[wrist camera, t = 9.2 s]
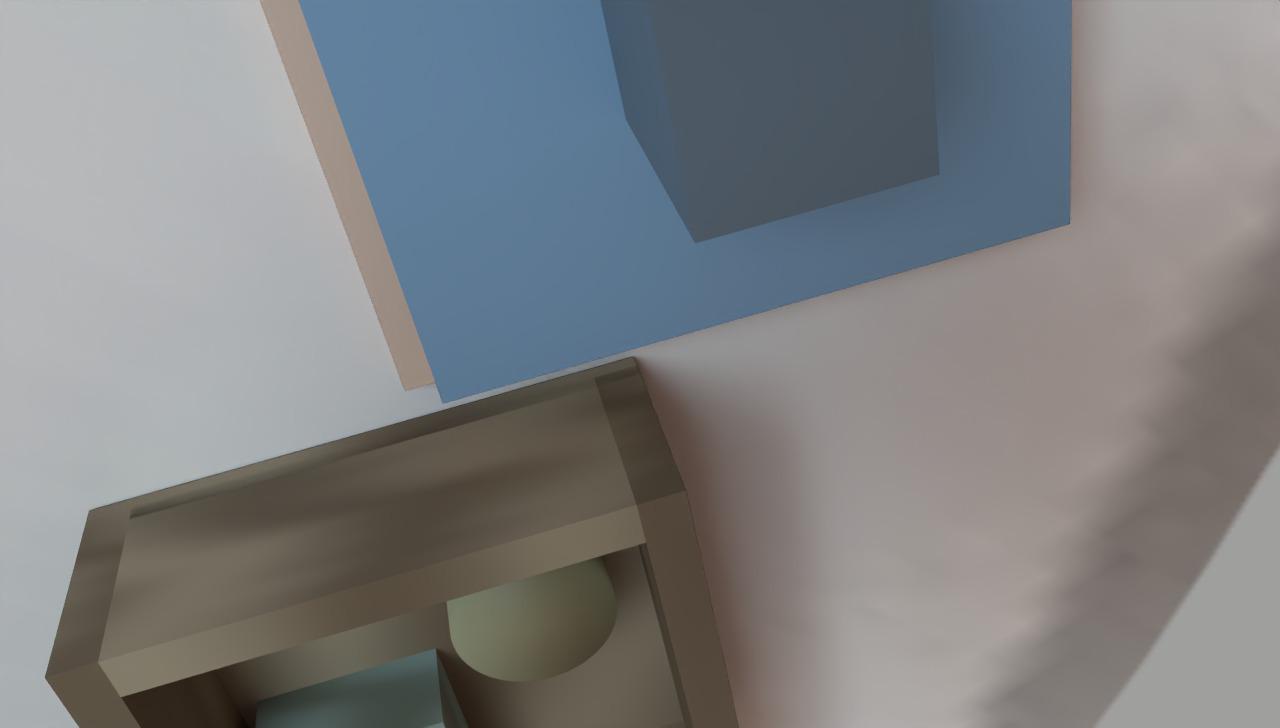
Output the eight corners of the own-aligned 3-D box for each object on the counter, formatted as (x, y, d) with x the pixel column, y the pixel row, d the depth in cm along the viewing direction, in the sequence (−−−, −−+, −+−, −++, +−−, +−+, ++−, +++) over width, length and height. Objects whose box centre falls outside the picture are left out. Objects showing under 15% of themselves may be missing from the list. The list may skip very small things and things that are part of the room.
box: (287, 843, 27) (280, 1017, 24) (88, 510, 21) (44, 677, 18) (717, 712, 28) (768, 862, 24) (632, 356, 22) (686, 490, 19)
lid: (435, 351, 21) (465, 571, 16) (183, -366, 15) (114, -346, 10) (1024, 184, 21) (1215, 348, 17) (1012, -564, 15) (1304, -631, 11)
